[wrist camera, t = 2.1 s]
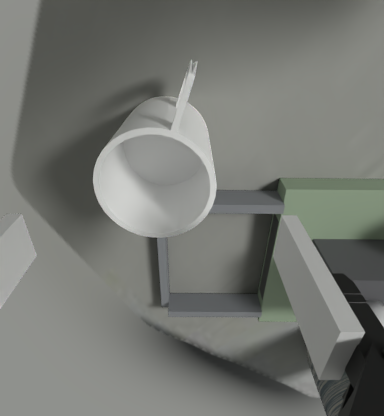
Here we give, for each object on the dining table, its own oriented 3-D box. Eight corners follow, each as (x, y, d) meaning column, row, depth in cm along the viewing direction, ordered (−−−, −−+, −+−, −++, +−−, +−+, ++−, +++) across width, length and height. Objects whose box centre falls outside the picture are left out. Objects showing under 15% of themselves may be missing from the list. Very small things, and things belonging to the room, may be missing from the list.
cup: (239, 71, 24) (264, 91, 16) (192, 188, 30) (192, 249, 22) (146, 34, 23) (119, 34, 14) (116, 164, 29) (84, 219, 20)
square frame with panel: (154, 176, 30) (138, 239, 21) (394, 179, 30) (481, 242, 21) (163, 305, 40) (154, 383, 31) (339, 306, 40) (381, 385, 31)
